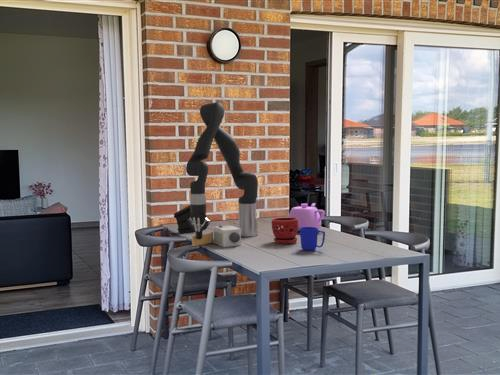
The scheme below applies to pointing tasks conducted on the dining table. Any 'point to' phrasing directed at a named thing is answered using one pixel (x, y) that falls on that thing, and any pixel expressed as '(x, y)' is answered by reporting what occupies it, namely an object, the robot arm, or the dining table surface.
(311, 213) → the teapot
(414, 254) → the dining table surface
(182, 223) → the black ridged block
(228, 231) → the camera body
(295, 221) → the plant pot
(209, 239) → the tan wooden plank
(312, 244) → the mug
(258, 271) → the dining table surface
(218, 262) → the dining table surface
